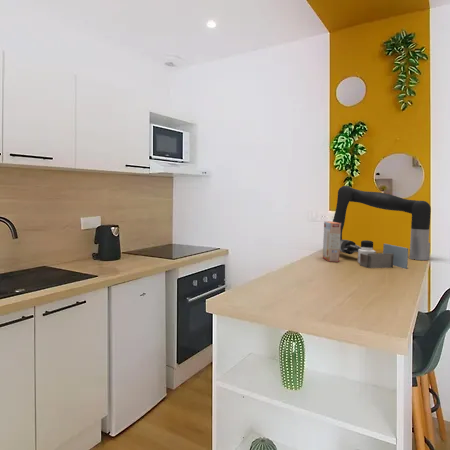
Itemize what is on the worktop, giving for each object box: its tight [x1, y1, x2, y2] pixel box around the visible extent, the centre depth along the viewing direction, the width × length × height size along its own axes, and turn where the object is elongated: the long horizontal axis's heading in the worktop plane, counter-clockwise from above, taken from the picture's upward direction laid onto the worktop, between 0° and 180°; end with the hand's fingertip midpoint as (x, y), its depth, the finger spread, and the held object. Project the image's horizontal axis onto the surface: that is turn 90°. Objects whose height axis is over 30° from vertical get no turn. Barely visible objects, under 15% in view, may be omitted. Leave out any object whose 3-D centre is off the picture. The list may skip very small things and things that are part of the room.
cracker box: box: [322, 221, 341, 263], centre depth 206 cm, size 14×6×21 cm, turn 179°
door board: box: [382, 243, 409, 270], centre depth 193 cm, size 1×18×10 cm, turn 11°
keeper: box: [359, 252, 394, 269], centre depth 189 cm, size 13×8×7 cm, turn 101°
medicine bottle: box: [357, 239, 377, 264], centre depth 198 cm, size 7×7×12 cm
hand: (362, 250), depth 201 cm, fingers closed
